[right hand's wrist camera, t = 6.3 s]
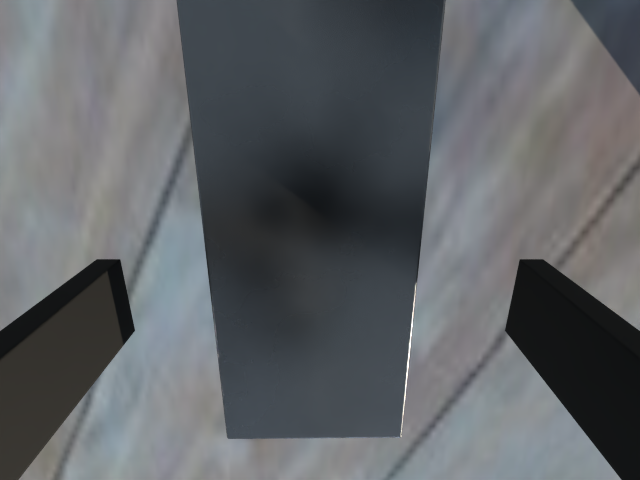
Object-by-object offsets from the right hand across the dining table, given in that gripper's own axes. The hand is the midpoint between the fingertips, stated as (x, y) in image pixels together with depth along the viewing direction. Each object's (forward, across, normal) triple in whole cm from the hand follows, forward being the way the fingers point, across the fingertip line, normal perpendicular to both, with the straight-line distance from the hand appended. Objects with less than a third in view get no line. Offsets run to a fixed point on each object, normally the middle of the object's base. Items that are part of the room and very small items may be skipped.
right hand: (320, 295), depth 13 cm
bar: (+7, 0, -10) cm, 12 cm away
